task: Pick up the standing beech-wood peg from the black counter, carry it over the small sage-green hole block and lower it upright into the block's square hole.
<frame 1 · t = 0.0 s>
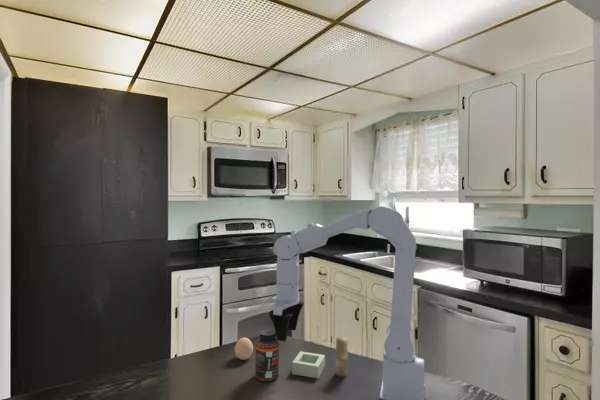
hand: (286, 334, 91), 10 cm above the countertop, tool pointing down, fingers open, 7 cm apart
beech peg: (341, 373, 92), on the countertop
hole block: (308, 369, 94), on the countertop
supplement bottle: (266, 377, 90), on the countertop
egg: (243, 359, 99), on the countertop
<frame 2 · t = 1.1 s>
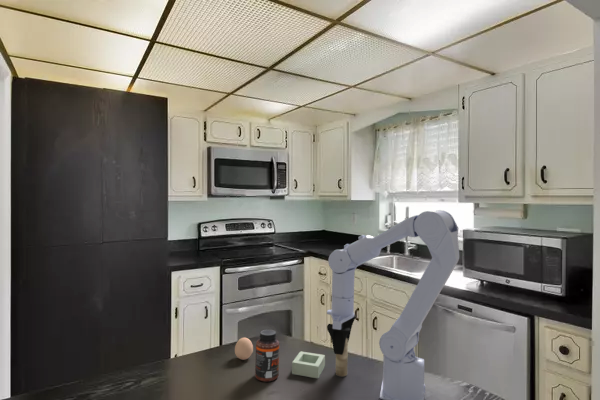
hand: (341, 347, 92), 7 cm above the countertop, tool pointing down, fingers open, 7 cm apart
nothing on the countertop moved.
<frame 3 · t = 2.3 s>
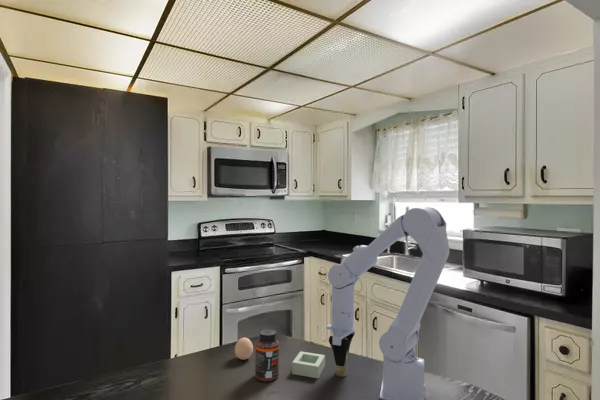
hand: (341, 362, 92), 3 cm above the countertop, tool pointing down, fingers closed on beech peg, 3 cm apart
beech peg: (341, 373, 92), on the countertop, touching gripper
everything else where it was.
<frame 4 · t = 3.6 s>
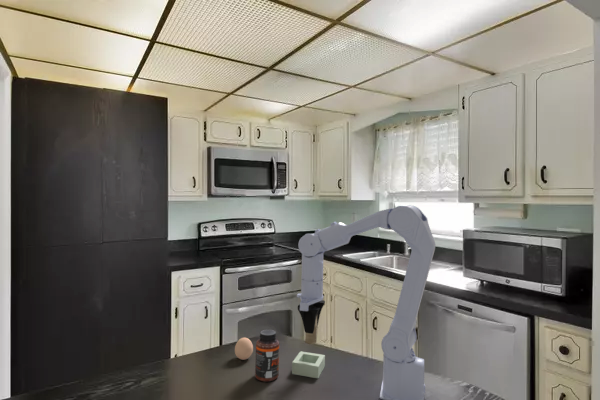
hand: (311, 330, 94), 10 cm above the countertop, tool pointing down, fingers closed on beech peg, 3 cm apart
beech peg: (310, 341, 94), point 7 cm above the countertop, touching gripper
everything else where it was.
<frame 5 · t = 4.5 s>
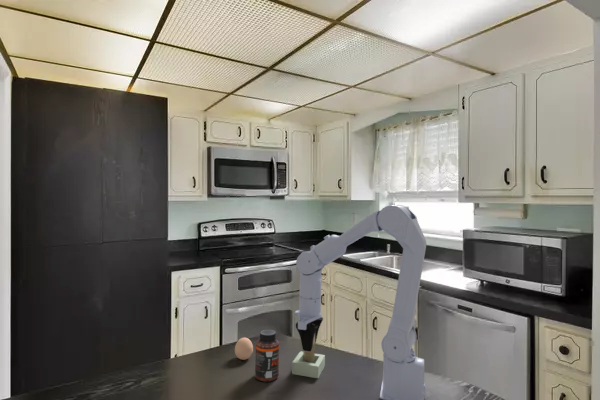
hand: (309, 347, 94), 6 cm above the countertop, tool pointing down, fingers closed on beech peg, 3 cm apart
beech peg: (308, 359, 94), point 3 cm above the countertop, touching gripper
everything else where it was.
when the fingers open (4 cm above the countertop, at t = 5.2 s): beech peg stays where it is, resting in hole block.
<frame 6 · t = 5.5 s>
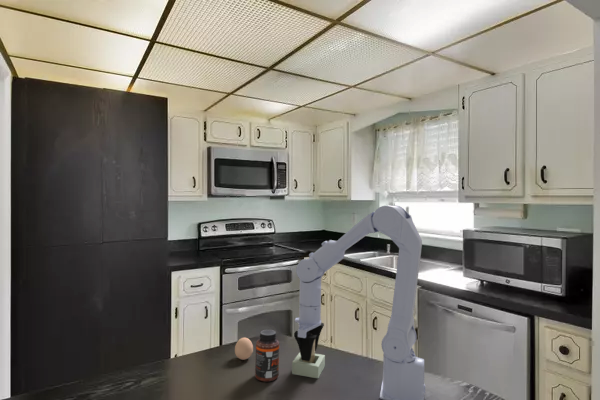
hand: (309, 355, 94), 4 cm above the countertop, tool pointing down, fingers open, 5 cm apart
beech peg: (308, 369, 94), resting in hole block
everything else where it was.
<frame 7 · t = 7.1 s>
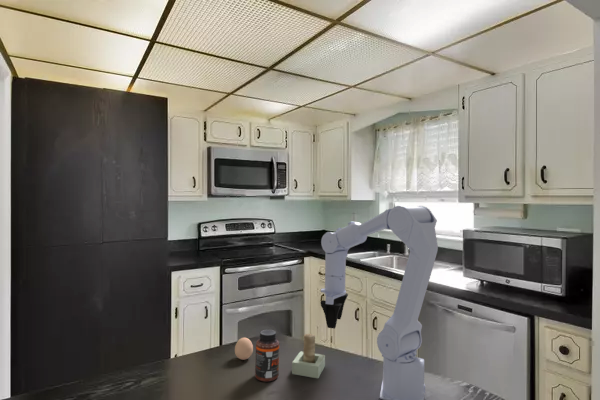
hand: (334, 323, 100), 10 cm above the countertop, tool pointing down, fingers open, 7 cm apart
nothing on the countertop moved.
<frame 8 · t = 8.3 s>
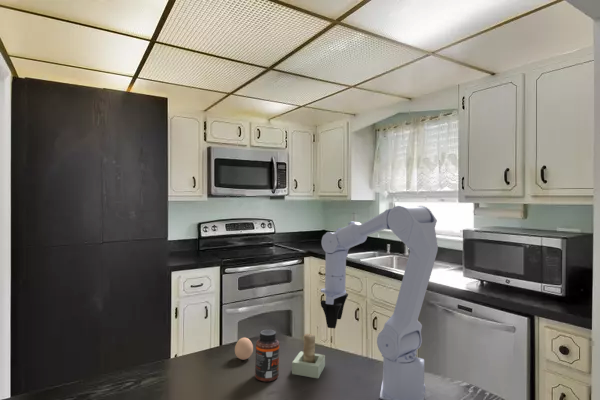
hand: (334, 323, 100), 10 cm above the countertop, tool pointing down, fingers open, 7 cm apart
nothing on the countertop moved.
at the end: beech peg 0.0 cm off-centre on the hole block, point 0.0 cm above the hole block's base; beech peg tilted 0°; the gripper is holding nothing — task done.
